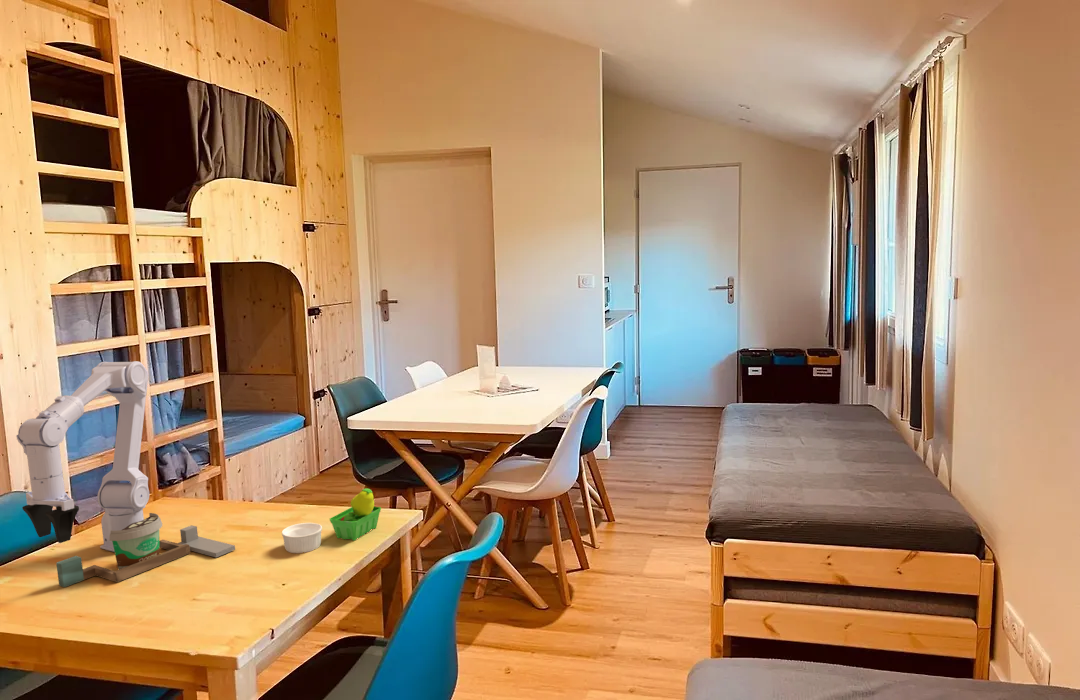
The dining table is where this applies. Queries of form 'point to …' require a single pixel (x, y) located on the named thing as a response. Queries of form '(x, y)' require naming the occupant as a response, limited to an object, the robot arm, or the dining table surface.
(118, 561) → the food container
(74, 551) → the dining table surface
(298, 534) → the ramekin
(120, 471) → the robot arm
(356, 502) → the fruit basket
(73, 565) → the walnut sled
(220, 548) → the grey l-shaped block
